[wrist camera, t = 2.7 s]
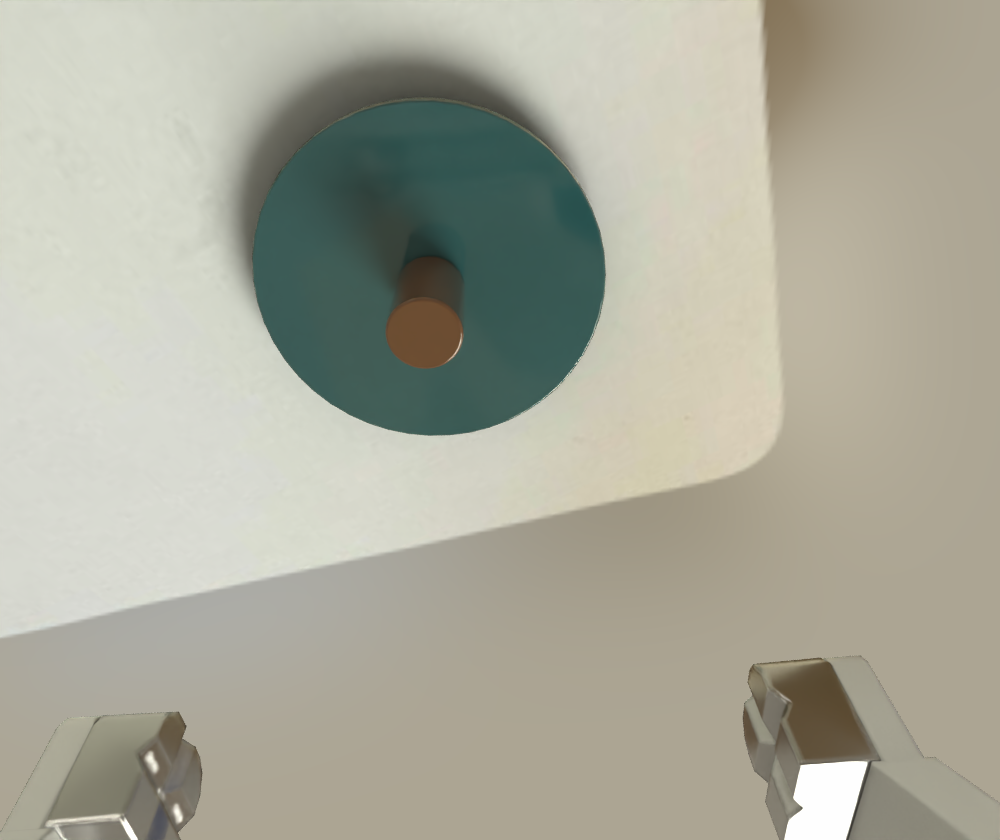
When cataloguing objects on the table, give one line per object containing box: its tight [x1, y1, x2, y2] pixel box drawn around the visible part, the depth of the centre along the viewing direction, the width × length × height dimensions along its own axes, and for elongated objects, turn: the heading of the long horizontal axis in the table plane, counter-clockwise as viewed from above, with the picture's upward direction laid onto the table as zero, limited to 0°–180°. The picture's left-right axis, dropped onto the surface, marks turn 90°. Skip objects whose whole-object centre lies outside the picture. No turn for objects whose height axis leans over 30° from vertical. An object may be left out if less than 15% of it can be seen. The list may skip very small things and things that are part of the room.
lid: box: [252, 98, 606, 436], centre depth 23 cm, size 11×11×5 cm
